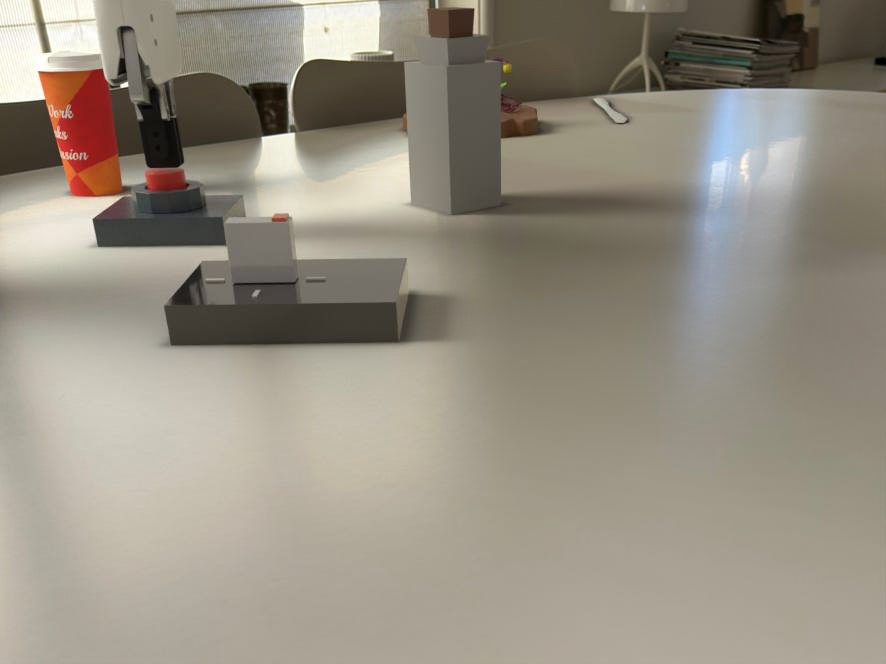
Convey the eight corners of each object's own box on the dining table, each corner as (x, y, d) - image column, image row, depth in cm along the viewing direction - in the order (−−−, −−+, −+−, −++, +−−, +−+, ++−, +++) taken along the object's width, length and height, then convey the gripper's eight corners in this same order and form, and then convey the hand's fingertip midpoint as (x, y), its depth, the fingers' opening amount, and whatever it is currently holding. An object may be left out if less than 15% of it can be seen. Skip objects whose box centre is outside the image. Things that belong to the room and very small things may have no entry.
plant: (411, 120, 164) (407, 37, 158) (537, 118, 164) (538, 35, 157) (397, 141, 148) (392, 49, 141) (537, 140, 147) (539, 47, 141)
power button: (144, 194, 99) (140, 174, 98) (153, 187, 102) (150, 167, 101) (182, 194, 99) (179, 173, 98) (191, 186, 102) (188, 166, 101)
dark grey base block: (171, 348, 74) (163, 303, 73) (208, 299, 84) (201, 258, 83) (398, 345, 74) (395, 299, 72) (408, 296, 84) (406, 255, 82)
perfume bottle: (411, 206, 112) (401, 9, 102) (460, 197, 116) (456, 5, 106) (451, 217, 108) (445, 11, 98) (501, 207, 111) (500, 7, 101)
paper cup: (57, 191, 122) (26, 52, 114) (124, 184, 125) (99, 48, 117) (68, 203, 116) (36, 58, 108) (139, 196, 119) (113, 54, 111)
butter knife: (610, 97, 179) (592, 96, 179) (632, 122, 156) (612, 122, 156) (609, 100, 179) (592, 100, 179) (631, 127, 157) (611, 126, 157)
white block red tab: (231, 283, 77) (222, 219, 74) (236, 277, 78) (227, 213, 76) (295, 282, 77) (287, 218, 74) (298, 276, 78) (291, 212, 76)
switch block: (98, 249, 99) (87, 198, 96) (128, 224, 107) (119, 177, 104) (226, 247, 98) (219, 195, 96) (246, 223, 107) (240, 175, 104)
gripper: (107, -68, 95) (147, 153, 106) (50, -67, 83) (102, 183, 93) (190, -71, 95) (222, 151, 106) (145, -70, 83) (187, 181, 93)
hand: (166, 165), depth 99 cm, fingers closed
